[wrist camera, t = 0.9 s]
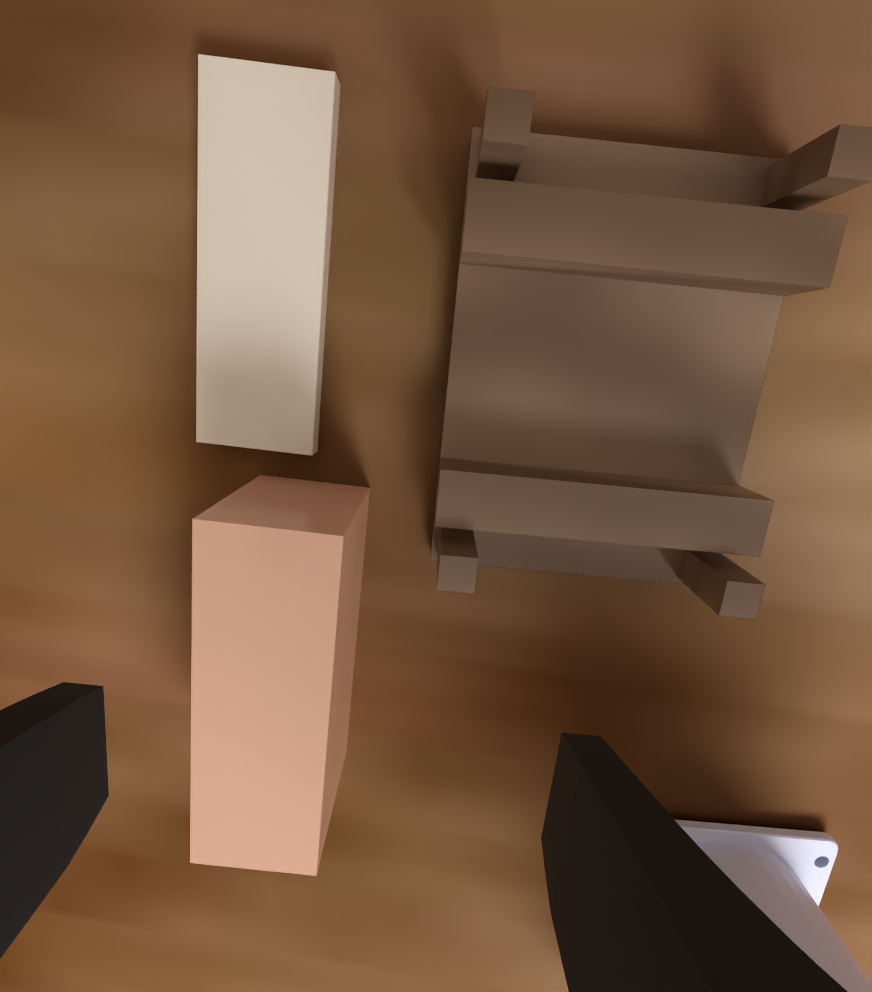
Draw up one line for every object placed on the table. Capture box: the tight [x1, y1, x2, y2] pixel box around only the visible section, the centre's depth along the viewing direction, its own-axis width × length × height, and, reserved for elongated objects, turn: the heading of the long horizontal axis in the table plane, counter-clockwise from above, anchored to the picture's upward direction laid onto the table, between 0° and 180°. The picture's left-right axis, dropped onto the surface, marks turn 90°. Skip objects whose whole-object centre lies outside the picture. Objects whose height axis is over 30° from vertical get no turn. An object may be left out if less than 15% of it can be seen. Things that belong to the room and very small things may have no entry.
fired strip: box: [196, 54, 340, 455], centre depth 16 cm, size 10×4×1 cm, turn 173°
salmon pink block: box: [190, 475, 370, 876], centre depth 16 cm, size 10×4×5 cm, turn 173°
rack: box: [431, 87, 872, 619], centre depth 15 cm, size 12×9×3 cm
